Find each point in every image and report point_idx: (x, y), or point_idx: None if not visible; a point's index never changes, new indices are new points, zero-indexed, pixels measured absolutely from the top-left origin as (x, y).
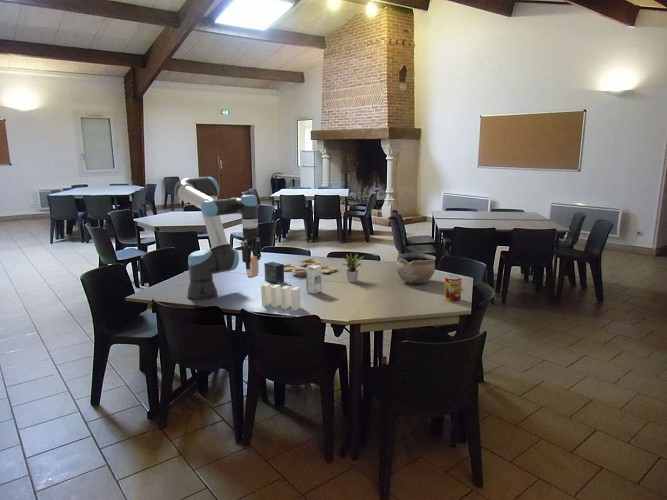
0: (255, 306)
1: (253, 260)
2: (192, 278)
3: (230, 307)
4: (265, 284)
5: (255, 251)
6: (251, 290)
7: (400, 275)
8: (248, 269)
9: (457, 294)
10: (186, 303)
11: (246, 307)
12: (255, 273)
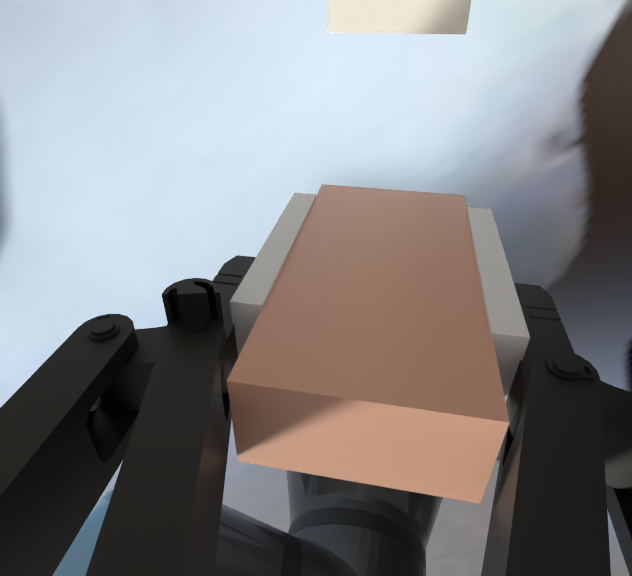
0: (485, 64)
1: (396, 344)
2: None
3: (547, 241)
4: (380, 13)
5: (198, 511)
6: (168, 285)
7: None
8: (538, 289)
9: None
10: None
11: (527, 126)
12: (373, 206)
